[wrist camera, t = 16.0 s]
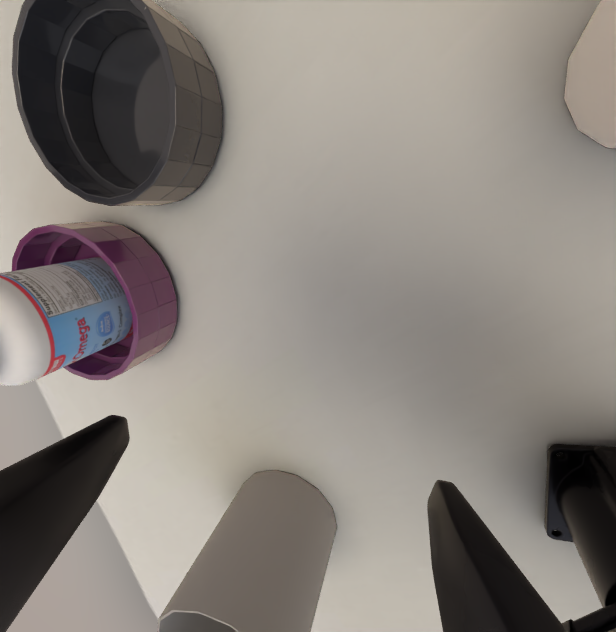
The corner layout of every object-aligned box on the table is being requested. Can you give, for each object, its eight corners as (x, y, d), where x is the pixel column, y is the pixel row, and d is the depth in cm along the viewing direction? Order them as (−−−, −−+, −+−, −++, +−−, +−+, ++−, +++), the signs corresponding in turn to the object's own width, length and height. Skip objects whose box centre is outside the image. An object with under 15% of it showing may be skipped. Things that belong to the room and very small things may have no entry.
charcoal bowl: (242, 187, 20) (199, 184, 16) (116, 215, 23) (57, 218, 19) (199, -19, 17) (136, -82, 13) (64, 46, 20) (-17, 12, 17)
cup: (227, 510, 29) (142, 647, 20) (261, 451, 26) (177, 585, 17) (309, 567, 29) (258, 737, 20) (355, 514, 25) (319, 690, 16)
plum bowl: (195, 354, 25) (157, 380, 21) (95, 357, 28) (48, 379, 25) (155, 210, 22) (104, 212, 18) (49, 233, 26) (-12, 238, 22)
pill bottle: (131, 347, 26) (-50, 440, 16) (77, 291, 26) (-139, 348, 16) (168, 299, 24) (-20, 373, 14) (108, 236, 24) (-127, 263, 13)
